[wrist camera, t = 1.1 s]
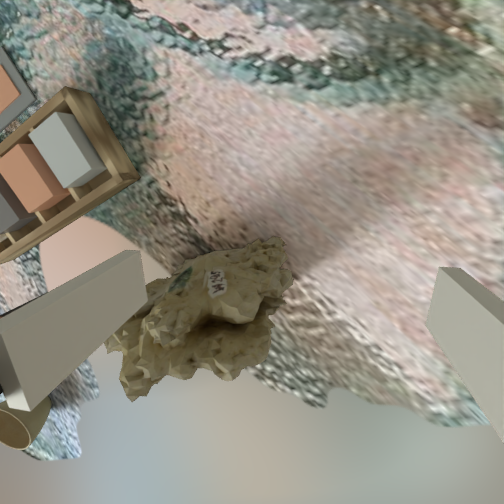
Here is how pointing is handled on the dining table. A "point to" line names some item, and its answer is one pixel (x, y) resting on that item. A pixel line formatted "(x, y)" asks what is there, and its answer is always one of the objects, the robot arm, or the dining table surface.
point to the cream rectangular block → (3, 237)
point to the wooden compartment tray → (81, 197)
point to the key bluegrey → (67, 150)
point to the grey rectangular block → (12, 210)
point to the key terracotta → (31, 178)
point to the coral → (204, 317)
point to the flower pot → (22, 424)
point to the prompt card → (12, 91)
